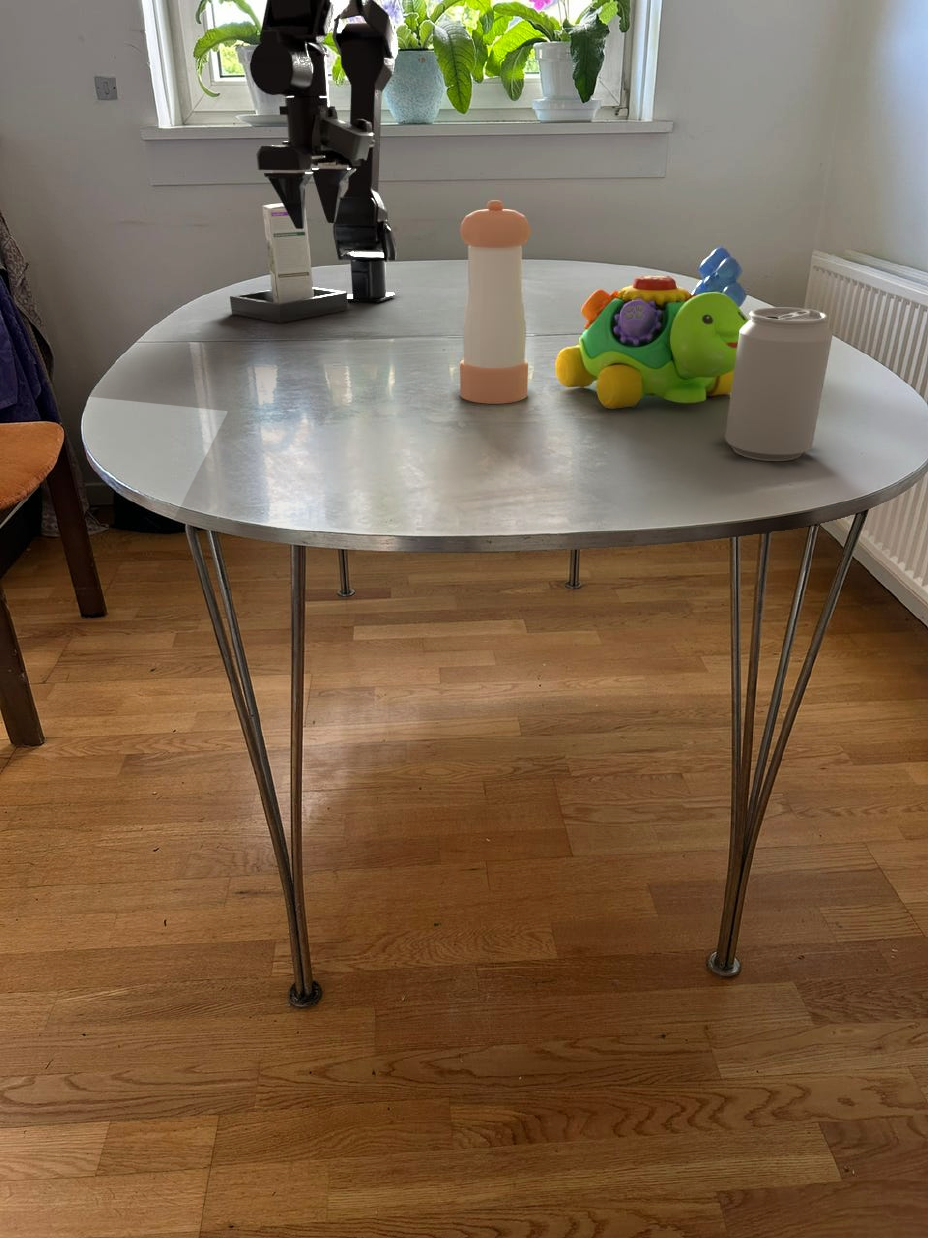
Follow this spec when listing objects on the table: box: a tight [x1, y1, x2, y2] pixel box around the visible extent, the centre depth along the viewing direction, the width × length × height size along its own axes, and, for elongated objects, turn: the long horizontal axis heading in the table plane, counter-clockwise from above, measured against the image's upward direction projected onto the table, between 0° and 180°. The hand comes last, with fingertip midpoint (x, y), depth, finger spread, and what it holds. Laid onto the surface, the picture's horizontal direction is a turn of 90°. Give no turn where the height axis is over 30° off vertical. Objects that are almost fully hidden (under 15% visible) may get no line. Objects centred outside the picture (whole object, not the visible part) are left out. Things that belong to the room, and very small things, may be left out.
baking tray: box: [229, 286, 349, 324], centre depth 141 cm, size 14×12×3 cm
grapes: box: [690, 246, 748, 308], centre depth 115 cm, size 12×7×12 cm, turn 10°
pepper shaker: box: [459, 199, 532, 405], centre depth 94 cm, size 7×7×19 cm
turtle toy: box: [555, 275, 750, 410], centre depth 95 cm, size 17×23×12 cm
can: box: [724, 306, 833, 462], centre depth 79 cm, size 8×8×12 cm
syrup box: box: [262, 202, 314, 304], centre depth 139 cm, size 6×6×14 cm
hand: (316, 225), depth 128 cm, fingers open, 9 cm apart
